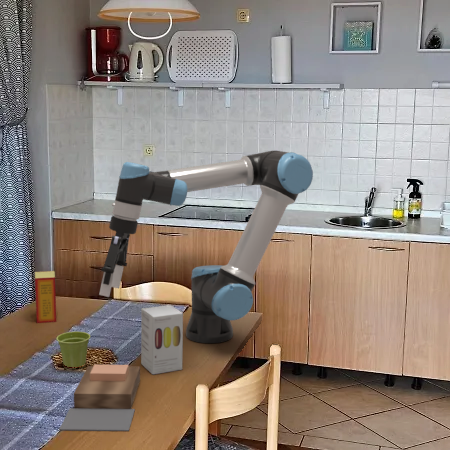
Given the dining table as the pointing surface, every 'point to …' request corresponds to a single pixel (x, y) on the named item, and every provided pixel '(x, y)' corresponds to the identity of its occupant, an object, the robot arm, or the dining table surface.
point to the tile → (109, 373)
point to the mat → (98, 419)
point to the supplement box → (161, 339)
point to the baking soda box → (45, 296)
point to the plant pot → (73, 348)
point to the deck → (107, 391)
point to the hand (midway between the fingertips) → (109, 291)
